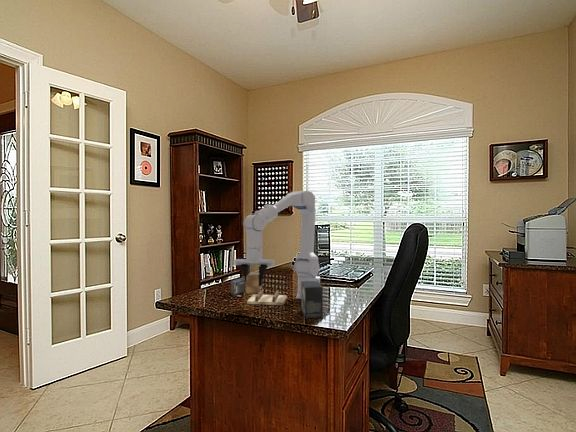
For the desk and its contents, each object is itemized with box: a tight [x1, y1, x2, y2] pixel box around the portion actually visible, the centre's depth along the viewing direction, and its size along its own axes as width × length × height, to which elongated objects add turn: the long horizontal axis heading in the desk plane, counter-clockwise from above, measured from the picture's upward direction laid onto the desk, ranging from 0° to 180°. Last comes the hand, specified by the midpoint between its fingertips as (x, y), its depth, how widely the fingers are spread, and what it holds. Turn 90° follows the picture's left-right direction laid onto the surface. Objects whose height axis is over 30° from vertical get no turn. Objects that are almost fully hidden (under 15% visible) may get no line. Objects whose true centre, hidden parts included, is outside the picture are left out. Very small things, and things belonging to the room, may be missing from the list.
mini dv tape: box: [230, 277, 246, 296], centre depth 150 cm, size 8×2×6 cm, turn 152°
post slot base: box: [246, 290, 288, 306], centre depth 137 cm, size 14×12×3 cm
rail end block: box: [245, 271, 263, 294], centre depth 125 cm, size 4×8×6 cm, turn 174°
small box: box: [300, 281, 324, 319], centre depth 119 cm, size 11×6×10 cm, turn 5°
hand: (254, 285), depth 125 cm, fingers closed on rail end block, 4 cm apart
